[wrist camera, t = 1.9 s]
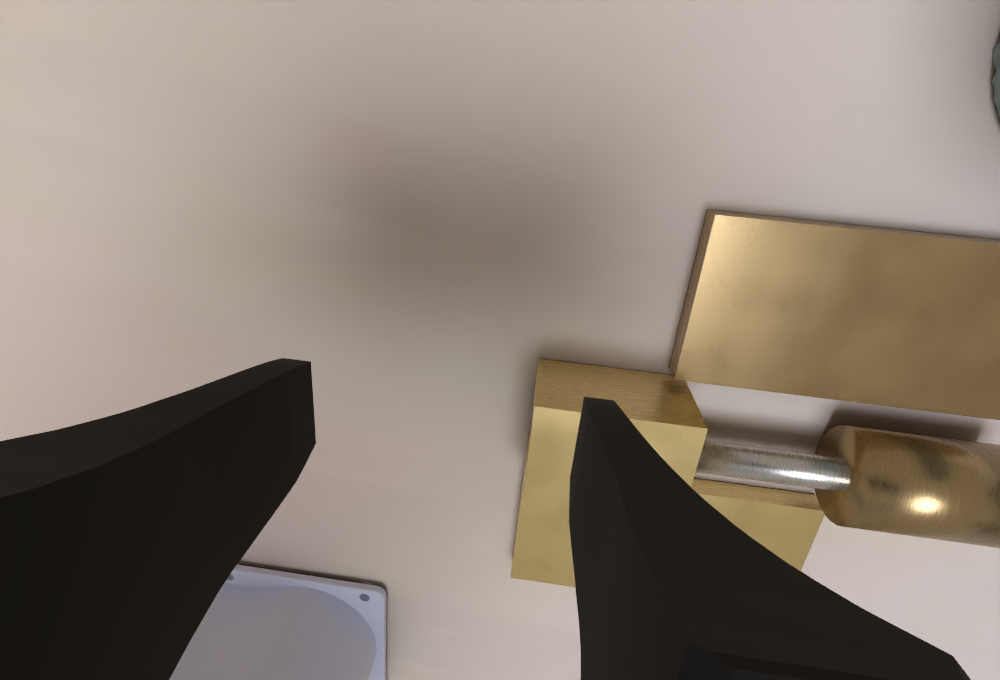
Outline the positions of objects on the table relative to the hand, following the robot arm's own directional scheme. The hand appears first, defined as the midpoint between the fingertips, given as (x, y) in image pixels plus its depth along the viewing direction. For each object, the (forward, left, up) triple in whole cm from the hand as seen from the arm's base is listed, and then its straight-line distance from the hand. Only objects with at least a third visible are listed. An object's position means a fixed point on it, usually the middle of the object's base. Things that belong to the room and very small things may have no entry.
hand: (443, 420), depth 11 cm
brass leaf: (+8, -8, -9) cm, 15 cm away
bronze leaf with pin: (+13, -2, -9) cm, 16 cm away
